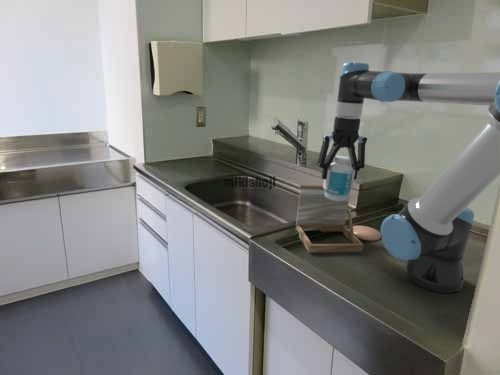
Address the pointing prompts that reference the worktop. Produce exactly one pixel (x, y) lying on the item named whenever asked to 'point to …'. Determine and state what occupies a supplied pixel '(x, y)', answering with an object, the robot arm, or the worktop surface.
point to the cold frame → (324, 219)
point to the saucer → (366, 233)
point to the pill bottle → (339, 179)
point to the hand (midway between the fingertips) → (337, 188)
